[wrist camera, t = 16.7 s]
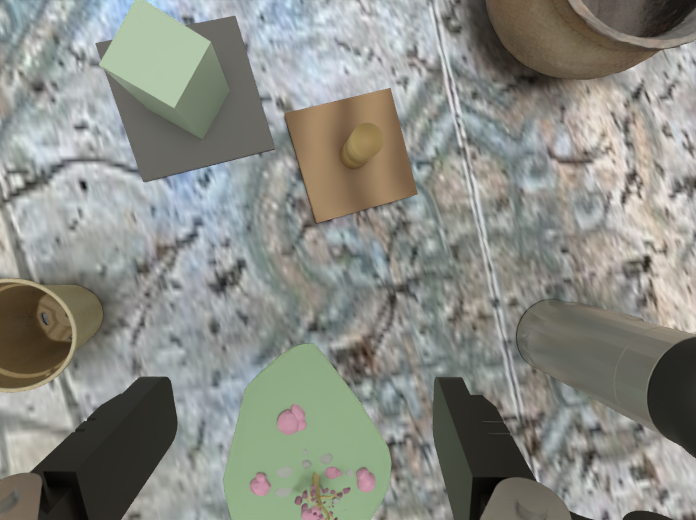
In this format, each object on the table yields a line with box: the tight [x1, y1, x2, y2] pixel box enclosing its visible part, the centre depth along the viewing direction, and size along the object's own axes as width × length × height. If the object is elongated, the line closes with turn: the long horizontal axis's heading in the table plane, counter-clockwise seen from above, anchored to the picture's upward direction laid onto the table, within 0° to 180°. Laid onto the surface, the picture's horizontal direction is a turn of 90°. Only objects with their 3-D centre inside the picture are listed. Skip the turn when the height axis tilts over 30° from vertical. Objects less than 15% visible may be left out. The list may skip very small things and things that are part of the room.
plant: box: [223, 343, 391, 520], centre depth 40 cm, size 25×21×9 cm
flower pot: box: [0, 278, 103, 393], centre depth 34 cm, size 9×9×9 cm
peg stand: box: [285, 88, 418, 223], centre depth 38 cm, size 12×12×8 cm
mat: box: [95, 16, 275, 182], centre depth 38 cm, size 14×14×1 cm
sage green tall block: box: [99, 0, 230, 140], centre depth 33 cm, size 6×6×10 cm
